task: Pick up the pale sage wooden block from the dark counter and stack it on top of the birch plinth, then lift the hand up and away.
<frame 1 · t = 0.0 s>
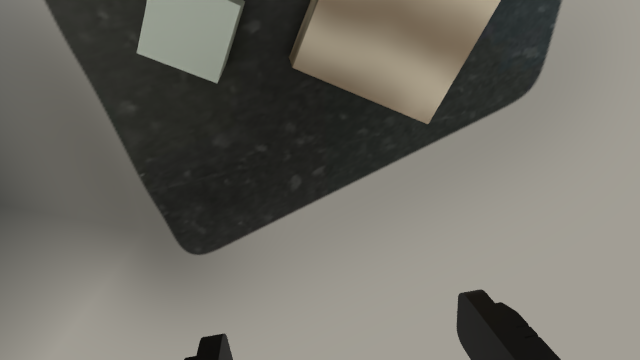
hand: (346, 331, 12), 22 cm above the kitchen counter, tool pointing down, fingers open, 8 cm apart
sage block: (202, 20, 27), on the kitchen counter
birch plinth: (386, 15, 28), on the kitchen counter
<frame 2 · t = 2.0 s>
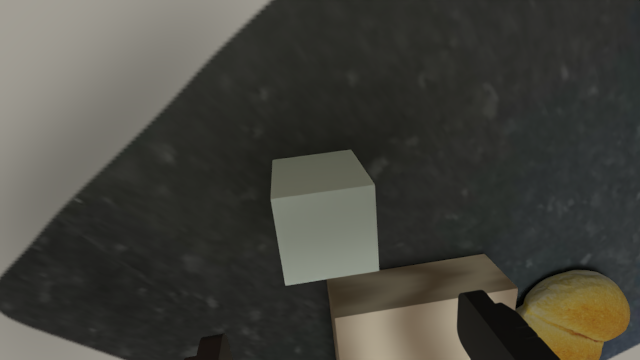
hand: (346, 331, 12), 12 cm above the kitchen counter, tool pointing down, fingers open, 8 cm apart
bread roll: (553, 309, 30), on the kitchen counter
sage block: (316, 190, 23), on the kitchen counter
birch plinth: (407, 328, 28), on the kitchen counter
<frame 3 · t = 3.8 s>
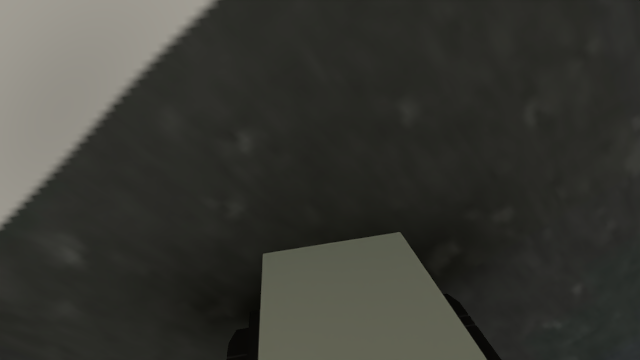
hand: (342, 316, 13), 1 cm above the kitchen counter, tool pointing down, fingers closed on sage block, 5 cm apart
sage block: (338, 298, 14), on the kitchen counter, touching gripper
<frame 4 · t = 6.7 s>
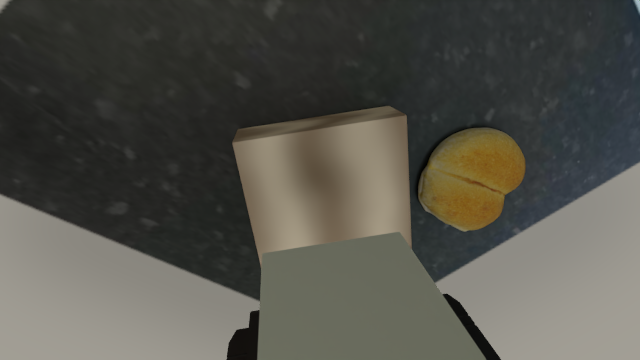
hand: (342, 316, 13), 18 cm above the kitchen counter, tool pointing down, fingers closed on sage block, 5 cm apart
bread roll: (462, 175, 32), on the kitchen counter
sage block: (337, 298, 14), point 17 cm above the kitchen counter, touching gripper
birch plinth: (324, 187, 30), on the kitchen counter
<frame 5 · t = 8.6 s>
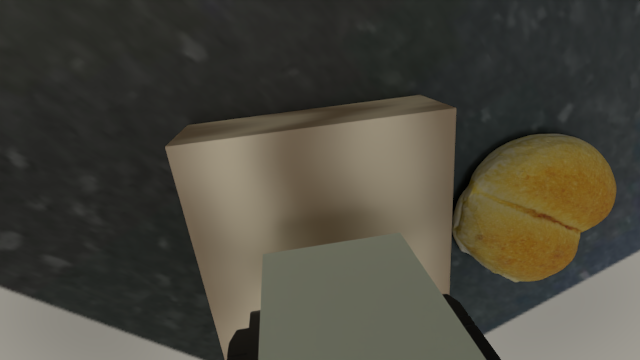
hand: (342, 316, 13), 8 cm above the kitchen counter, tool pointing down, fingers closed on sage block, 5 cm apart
bread roll: (514, 200, 22), on the kitchen counter
sage block: (338, 298, 14), point 7 cm above the kitchen counter, touching gripper
birch plinth: (319, 213, 20), on the kitchen counter
when the fingers open (7 cm above the kitchen counter, at t = 9.8 s): sage block drops 2 cm, resting on birch plinth.
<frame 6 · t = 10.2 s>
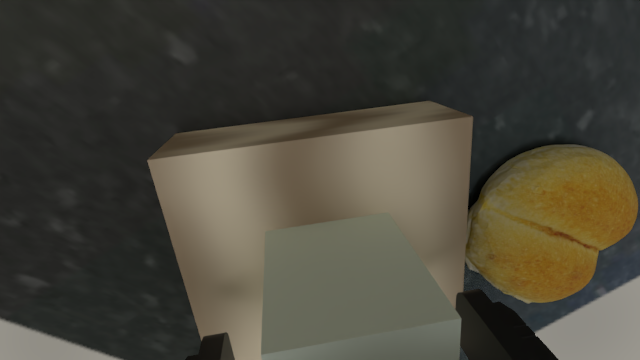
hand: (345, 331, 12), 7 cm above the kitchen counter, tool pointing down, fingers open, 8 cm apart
bread roll: (525, 214, 21), on the kitchen counter
sage block: (333, 273, 15), point 4 cm above the kitchen counter, touching birch plinth
birch plinth: (319, 228, 19), on the kitchen counter
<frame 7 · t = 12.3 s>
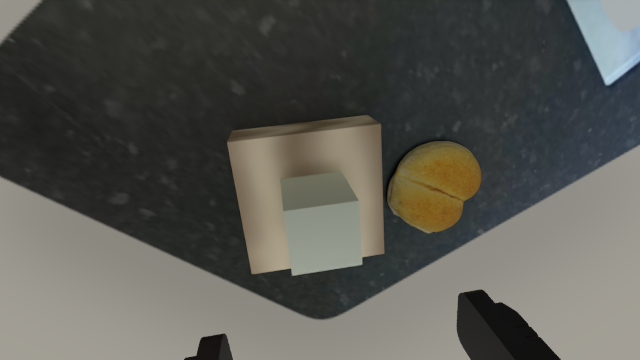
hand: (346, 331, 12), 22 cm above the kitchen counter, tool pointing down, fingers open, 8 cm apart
bread roll: (427, 182, 35), on the kitchen counter
sage block: (314, 203, 29), point 4 cm above the kitchen counter, touching birch plinth
birch plinth: (307, 185, 33), on the kitchen counter
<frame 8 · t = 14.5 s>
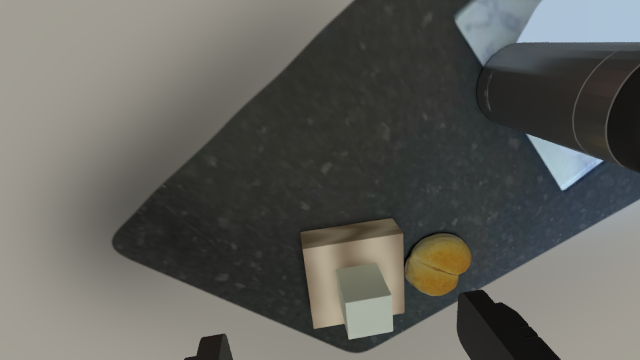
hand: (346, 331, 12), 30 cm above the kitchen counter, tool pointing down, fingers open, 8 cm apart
bread roll: (432, 259, 49), on the kitchen counter
sage block: (357, 282, 44), point 4 cm above the kitchen counter, touching birch plinth
birch plinth: (350, 264, 47), on the kitchen counter
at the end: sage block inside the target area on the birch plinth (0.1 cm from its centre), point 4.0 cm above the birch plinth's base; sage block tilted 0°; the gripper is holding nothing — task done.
